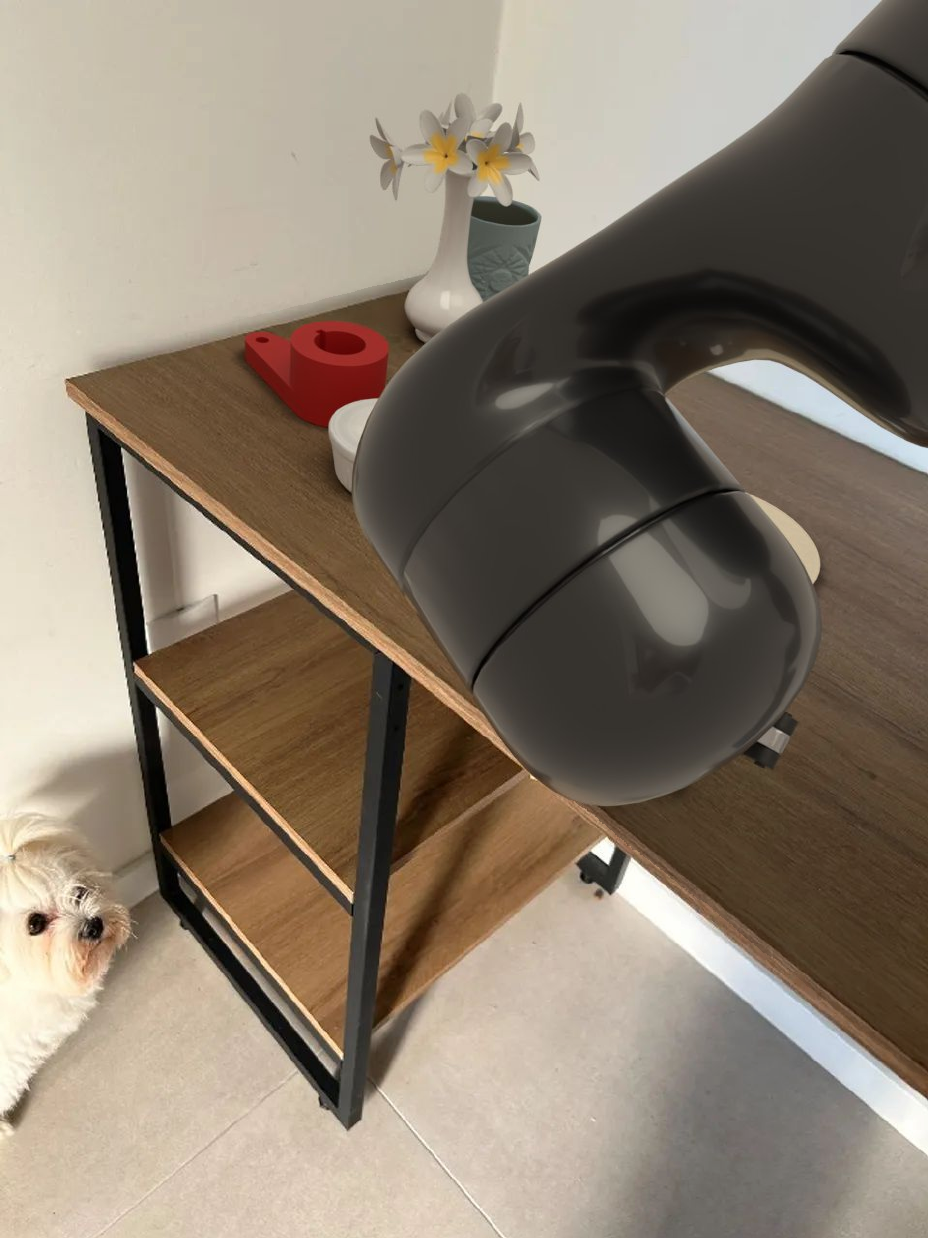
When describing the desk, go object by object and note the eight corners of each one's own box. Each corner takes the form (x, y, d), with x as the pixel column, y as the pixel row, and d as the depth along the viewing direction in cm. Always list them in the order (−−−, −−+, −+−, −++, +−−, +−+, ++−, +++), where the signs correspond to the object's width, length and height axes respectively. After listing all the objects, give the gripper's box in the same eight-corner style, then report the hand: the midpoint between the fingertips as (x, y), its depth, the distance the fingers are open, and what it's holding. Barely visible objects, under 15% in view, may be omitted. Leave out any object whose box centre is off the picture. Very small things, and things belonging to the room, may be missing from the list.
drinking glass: (499, 333, 112) (516, 232, 104) (428, 305, 115) (440, 205, 107) (537, 309, 119) (556, 212, 111) (470, 283, 122) (484, 188, 114)
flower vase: (341, 325, 108) (355, 83, 91) (471, 306, 117) (505, 83, 100) (399, 376, 100) (425, 124, 84) (533, 352, 109) (580, 119, 93)
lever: (402, 410, 95) (408, 349, 91) (334, 438, 89) (337, 375, 85) (285, 341, 103) (286, 282, 98) (215, 363, 97) (213, 301, 92)
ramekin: (471, 501, 85) (480, 451, 81) (360, 526, 79) (364, 474, 76) (412, 438, 91) (418, 389, 88) (307, 457, 86) (308, 407, 83)
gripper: (860, 650, 33) (818, 695, 50) (542, 499, 38) (600, 587, 54) (761, 835, 33) (752, 819, 50) (453, 662, 37) (538, 700, 54)
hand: (672, 697), depth 52 cm, fingers closed
